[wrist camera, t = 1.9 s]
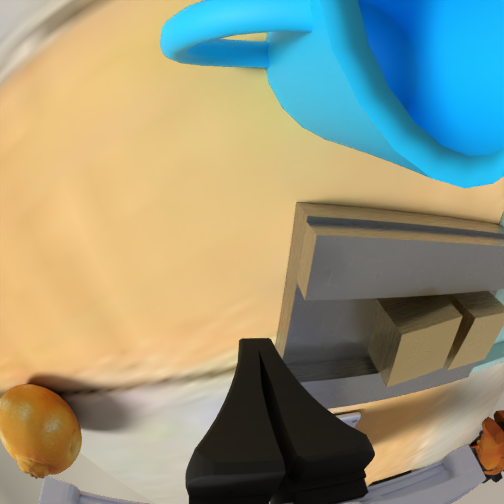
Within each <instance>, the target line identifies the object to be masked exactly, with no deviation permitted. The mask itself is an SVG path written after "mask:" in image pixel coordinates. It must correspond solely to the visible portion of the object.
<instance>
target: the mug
mask: <svg viewBox="0 0 504 504" xmlns="http://www.w3.org/2000/svg"><path fill="white" fill-rule="evenodd" d="M263 32H268V33H267V39H266V42H257V41H242V40H227V39H220V38H224V37H229V36H233V35H241V34H251V33H263ZM160 46H161V50H162V52H163V54H164V55H165V56H166V57H167V58H169V59H172V60H174V61H177V62H179V63H184V64H193V65H201V66H222V67H251V68H266V71H267V76H268V81H269V85H270V86H271V88H272V90H273V92H274V93H275V95H276V97H277V99H278V101H279V102H280V104H281V106H282V108H283V109H284V110H285V111H286V112H287V113H288V114H289V115H290V116H291V117H292V118H294V119H295V120H296V121H297V122H298V123H299V124H300V125H301V126H302V127H303V128H305V129H307V130H309V131H311V132H312V133H314V134H316V135H318V136H320V137H322V138H323V139H325V140H328V141H332V142H335V143H338V144H341V145H344V146H347V147H350V148H353V149H356V150H359V151H362V152H365V153H368V154H371V155H374V156H376V157H379V158H382V159H385V160H387V161H390V162H393V163H395V164H398V165H400V166H403V167H405V168H408V169H410V170H413V171H415V172H418V173H420V174H422V175H425V176H427V177H429V178H432V179H436V180H439V181H442V182H446V183H449V184H452V185H456V186H459V187H462V188H469V187H475V186H481V185H488V184H493V183H494V182H496V181H497V180H499V179H500V178H502V177H503V176H504V0H204V1H201V2H198V3H195V4H193V5H190V6H188V7H186V8H185V9H183V10H182V11H180V12H179V13H177V14H176V15H174V16H173V17H172V18H170V19H169V20H168V21H167V22H166V23H165V24H164V26H163V28H162V31H161V41H160Z"/></svg>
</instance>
